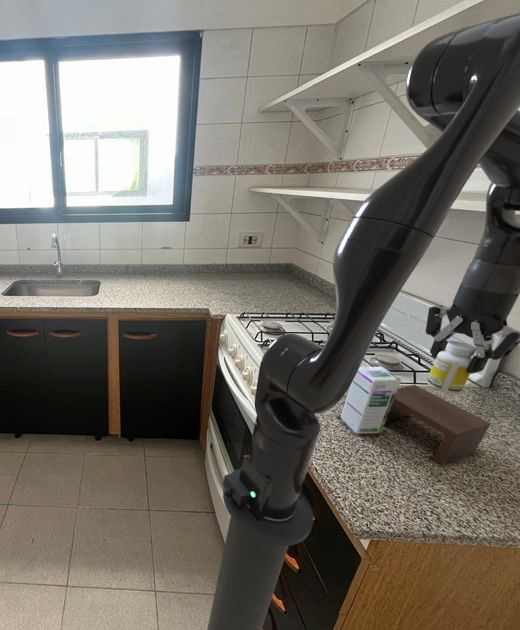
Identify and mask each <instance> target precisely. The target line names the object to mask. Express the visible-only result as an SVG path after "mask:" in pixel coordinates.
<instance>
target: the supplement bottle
mask: <svg viewBox="0 0 520 630" xmlns="http://www.w3.org/2000/svg"><path fill="white" fill-rule="evenodd" d="M475 354H476V346H475V345H472V344H469V343H466V342H463V341H459V340H449V341H448V344H447V346H446V348H445V350H442V351H440V352H439V353H438V355H437V357H436V358H434V359H435V360H434V362H433V364H432V367H431V368H430V371H429V374H428V376H427V378H426V383H427V385H428V386H429V387H431V388H432V389H435V390H437V391H439V392H441V393H446V394H451V395H456V394H457V395H459V394H460V393H462V391H463V390H464V388H465V385H466V383H467V381H468V380H469V376H470V375H471V374H470V373H468V372H466V371H467V369H468V367H469V365H470V363H471V360H472V358H473V356H475Z"/></svg>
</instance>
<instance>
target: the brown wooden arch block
mask: <svg viewBox="0 0 520 630" xmlns="http://www.w3.org/2000/svg"><path fill="white" fill-rule="evenodd" d="M409 416H412V417H414V418H415V419H417V420H419V421H420V422H422V423H424V424H426V425H427V426H429V427H431V428H432V429H434V430H436V431H438V432H439V433H441V434H443V435H444V436H443V439H442V441H441V442H440V445H439V446H438V449H437V450H436V452H435V454H434V456H433V458H432V460H433V461H434V462H436V463H437V464H439V465H440V466H442V465H445V464H449V463H450V462H453V461H456V460H459V459H462V458H465V457H468V456H470V455H474V454H475V453H476V451H477V449H478V447H479V445H480V444H481V442H482V440H483V438H484V436H485V435H486V433H487V431H488V429H489V427H490V426H491V425H492V424H491V422H489V421H487V420H485V419H483V418H481V417H479V416H477V415H476V414H473V413H471V412H470V411H467V410H465V409H464V408H462V407H460V406H457V405H455V404H453V403H451V402H450V401H447V400H446V399H444V398H442V397H440V396H438V395H436V394H434V393H432V392H430V391H428V390H426V389H424V388H422V387H420V386H418V385H416V384H412V385H408V386H403V387H400V388H399V387H398V390H397V393H396V395H395V398H394V401H393V403H392V406H391V409H390V411H389V414H388V416H387V419H386V422H385V423H388V422H391V421H395V420H398V419H402V418H406V417H409Z"/></svg>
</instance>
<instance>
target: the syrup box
mask: <svg viewBox="0 0 520 630" xmlns="http://www.w3.org/2000/svg"><path fill="white" fill-rule="evenodd" d="M401 382H402V380H401V379H400V378H399V377H398V376H397V375H396V374H395V373H393V372H391V371H390V370H388V369H386V368H384V367H383V366H381V365H380V366H363V367H362V366H360V367H359V369H358V372H357V374H356V376H355V377H354V379H353V381H352V383H351V385H350V387H349V389H348V391H347V396H346V399H345V402H344V406H343V408H342V412H341V415H340V419H341V420H342V421H343V422H344V423H345V424H346V425H347V426H348V428H350V429H351V430H352V431H353V433H355V434H356V435H360V434H362V435H363V434H382V433H383V429H384V427H385V425H386V423H387V422H386V419H387V416H388V414H389V411H390V409H391V406H392V403H393V401H394V398H395V395H396V393H397V390H398V389H399V387H400V385H401Z"/></svg>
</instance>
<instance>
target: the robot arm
mask: <svg viewBox="0 0 520 630" xmlns="http://www.w3.org/2000/svg"><path fill="white" fill-rule="evenodd" d="M405 96H406V101H407V103H408V105H409V107H410V108H411V110H412V111H413V112H414V113H415V114H416V115H417V116H419V117H420V118H421V119H422V120H424V121H425V122H427V123H429V124H430V125H432V126H433V127H434V128H436V129H437V130H438V131H440V132H441V133H440V135H439V136H438V137H437V138H436V140H434V141H433V142H432V144H431V145H430V146H429V147H428V148H427V149H426V150H424V151H423V152H422V154H420V155H419V156H417V157H416V158H414V160H413V161H411V162H410V163H409V164H408V165H406V166H405V167H404V168H402V169H401V170H400V171H399V172H397V173H396V174H394V175H393V176H392V177H390V178H389V179H388V180H387V181H385V182H384V183H383V184H382V185H380V187H379V186H378V188H377V189H375V190H374V191H373V192H372V193H371V194H370V195H368V197H366V198H365V199H364V200H363V201H362V202H361V204H360V205H358V207H357V208H356V210H355V211H354V213H353V215H352V217H351V219H350V220H349V223H348V225H347V226H346V228H345V230H344V231H343V233H342V235H341V237H340V240H339V241H338V243H337V245H336V247H335V250H334V254H333V260H332V267H333V268H332V269H333V281H334V282H333V284H334V290H335V303H336V306H335V315H334V316H335V317H334V320H333V324H332V326H331V329H330V332H329V334H328V337H327V339H326V340H325V343H324V344H323V346H322V345H320V344H318V343H316V342H314V341H312V340H310V339H308V338H306V337H304V336H302V335H300V334H296V333H285V334H282V335H279V336H278V337H276V338H275V339H274V340H272V342H271V343H270V344H269V345H268V347H267V348H266V350H265V351H264V353H263V355H262V358H261V361H260V364H259V369H258V373H257V382H256V389H255V395H254V410H255V413H256V418H255V421H254V422H255V423H254V427H253V431H252V434H251V435H252V436H251V440H250V445H249V449H248V454H247V455H244V456H243V457H242V462H241V466H240V468H241V471H240V476H238V474H237V473H236V472H235V473H232V472H231V473H228V474H225V475H224V476H223V482H222V485H223V488H224V487H225V488H226V489H227V490H226V491H225V493H224V494H225V496H226V497H233V499H234V500H235V501H236V503H237V504H238V505H239V506H241V505H244V504H245V506H246V507H247V508H248V509H249V511H250V512H251V513H252V515H253V516H254V517H255V518H256V520H257V521H261V520H265V521H268V522H272V523H284V522H287V521H289V520H291V519H292V518H293V516H294V514H295V511H296V505H297V502H298V499H299V500H301V494H300V492H302V489H303V486H304V483H305V479H306V476H307V473H308V470H309V466H310V463H311V460H312V458H313V454H314V451H315V447H316V445H317V441H318V439H319V435H320V433H321V423H320V419H319V418H318V416H317V415H318V414H324V413H325V412H328V411H330V410H331V409H332V408H334V407H336V406H337V404H339V402H340V401H342V399H343V397H344V396H345V395H346V393H348V391H349V389H350V386H351V383H352V381H353V379H354V377H355V376H356V374H357V372H358V369H359V367H361V365H362V363H363V362H364V359H365V357H366V355H367V353H368V350H369V349H370V346H371V344H372V343H373V341H374V338H375V336H376V334H377V332H378V330H379V328H380V326H381V324H382V322H383V321H384V319H385V317H386V316H387V313H388V312H389V310H390V309H391V307H392V305H393V304H394V302H395V300H396V299H397V297H398V296H399V294H400V292H401V290H402V289H403V287H404V286H405V285H406V283H407V281H408V279H409V278H410V277H411V275H412V274H413V272H414V270H415V269H416V267H418V265H419V263H420V261H421V260H422V258H423V256H424V255H425V253H426V252H427V250H428V248H429V247H430V245H431V243H432V242H433V240H434V238H435V237H436V235H437V233H438V232H439V229H440V227H441V226H442V225H443V222H444V221H445V219H446V216H447V215H448V213H449V212H450V210H451V208H452V207H453V205H454V203H455V201H457V198H458V197H459V195H460V193H461V192H462V190H463V188H464V187H465V185H466V184H467V182H468V181H469V179H470V178H471V176H472V174H473V173H474V171H475V170H476V168H477V167H478V166H479V167H480V168H481V170H482V171H483V172H484V174H485V175H486V177H487V178H488V180H489V182H490V184H489V186H488V189H487V191H486V197H485V220H484V228H483V234H482V237H481V240H480V242H479V245H478V247H477V249H476V251H475V254H474V257H473V258H472V260H471V262H470V264H469V265H468V267H467V268H466V270H465V272H464V275H463V277H462V280H461V282H460V284H459V286H458V289H457V291H456V293H455V296H454V298H453V299H452V304H451V306H449V307H445V306H443V305H433V306H430V307H428V313H427V320H426V326H425V334H426V335H429V336H430V337H432V338H433V339H434V340H433V343H432V345H431V347H430V350H429V353H430V354H431V355H430V357H431V358H433V359H436V357H437V355H438V353H439V352H440V351H442V350H446V346H447V344H448V342H449V341H448V340H449V339H451V338H452V337H453V336H455V335H456V334H461V335H465V336H467V337H468V338H471V339H472V341H473V346H474V347H475V348H476V351H475V354H474V355H473V356H472V360H471V363H470V365H469V367H468V369H467V371H466V372H468V373H470V375H472V374H473V375H474V374H477V373H480V372H482V371H484V369H485V367H486V365H487V363H488V361H489V359H491V360H492V361H493V360H494V361H497V360H500V359H505V358H507V357H508V356H509V355H510V354H511V353H512V352H513V351H514V350H515V349H516V348H517V346H519V344H520V330H518V329H515V328H513V327H510V326H509V325H508V320H507V319H508V317H509V316H510V313H511V312H512V311H513V308H514V306H515V304H516V302H517V300H518V299H519V296H520V221H519V220H518V219H517V214H516V212H520V12H516V13H512V14H508V15H505V16H502V17H498V18H495V19H491V20H488V21H487V20H486V21H484V22H481V23H480V22H479V23H477V24H473V25H469V26H465V27H461V28H458V29H454V30H452V31H449V32H446V33H443V34H442V35H439V36H437V37H435V38H434V39H432V40H431V41H429V42H428V43H427V44H425V45H424V46H423V48H421V50H420V51H419V52H418V54H417V55H416V57H415V58H414V60H413V61H412V63H411V65H410V68H409V70H408V73H407V77H406V81H405ZM444 317H447V319H448V321H449V323H448V324H447V325H446V326H444V327H443V328H442V324H443V318H444ZM499 332H502V335H501V338H502V341H501V342H500V343H499V344H498V345H497V346H496V347H495V349H494V343H495V336H494V335H495V334H497V333H499Z"/></svg>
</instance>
